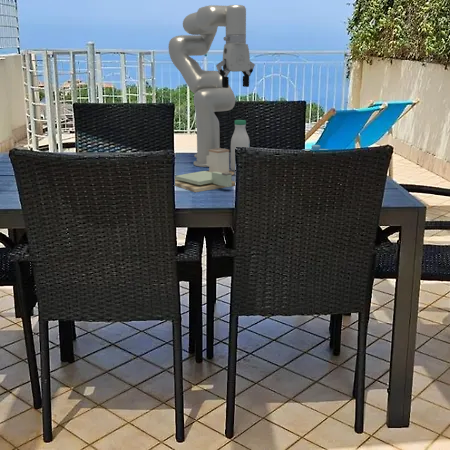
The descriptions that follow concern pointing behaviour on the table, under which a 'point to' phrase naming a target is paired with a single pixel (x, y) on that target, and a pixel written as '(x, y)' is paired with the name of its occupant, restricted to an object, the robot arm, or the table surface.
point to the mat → (229, 172)
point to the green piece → (207, 178)
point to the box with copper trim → (218, 160)
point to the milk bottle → (238, 139)
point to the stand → (198, 186)
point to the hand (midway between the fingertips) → (235, 87)
